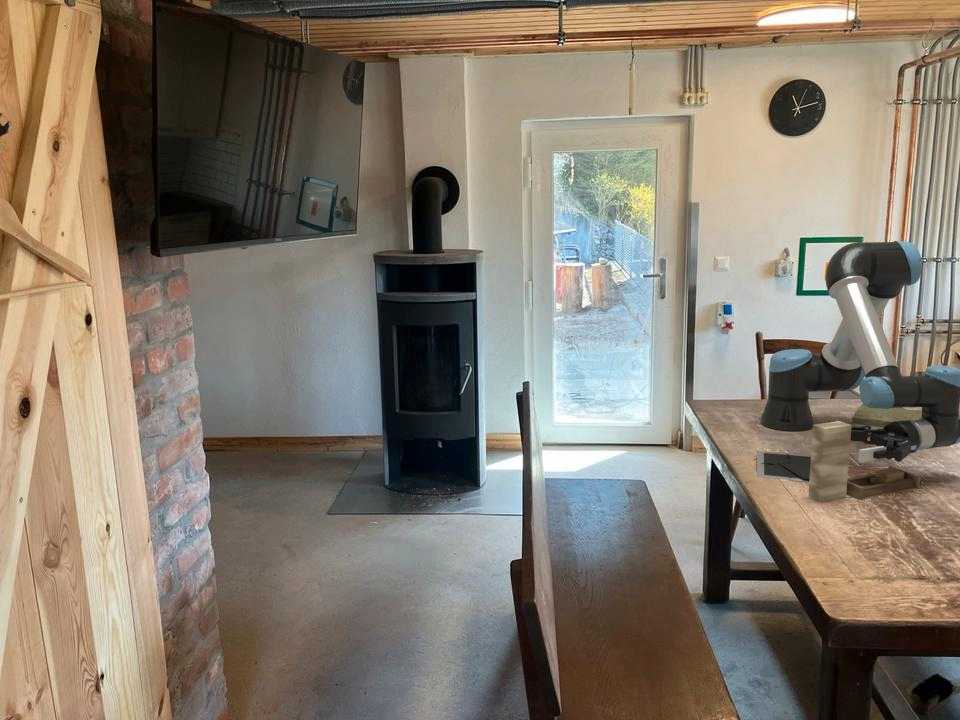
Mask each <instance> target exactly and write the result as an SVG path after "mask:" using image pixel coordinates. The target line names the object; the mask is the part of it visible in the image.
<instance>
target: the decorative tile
mask: <svg viewBox="0 0 960 720" xmlns="http://www.w3.org/2000/svg"><path fill="white" fill-rule="evenodd" d="M921 417H922V410H917V409H916V410H915V409H907V408H906V407H903V408H889V409H879V408H869V407H867V406H865V405H864V404H863V403H862V404H861V405H860V406H859V407H858V408H857V410H856V411H855V412H854V414H853V415H852V417H851V424H853V425H859V426H860V425H861V426H871V427H874V428H876V427H877V428H882V429H883V428H884V427H885V426H886V425H887V424H888V423H890V422H895V421H902V420H907V419H914V418H921Z"/></svg>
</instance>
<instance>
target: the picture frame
mask: <svg viewBox="0 0 960 720" xmlns="http://www.w3.org/2000/svg"><path fill="white" fill-rule="evenodd" d="M756 452H757V453H756V477H757V478H765V479H773V480H785V481H796V482H797V481H798V482H807V483H809V480H810V465H811V454H802V453H800V454H799V453H788V452H777V451H768V450H766V451H765V450H757V451H756Z"/></svg>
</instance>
